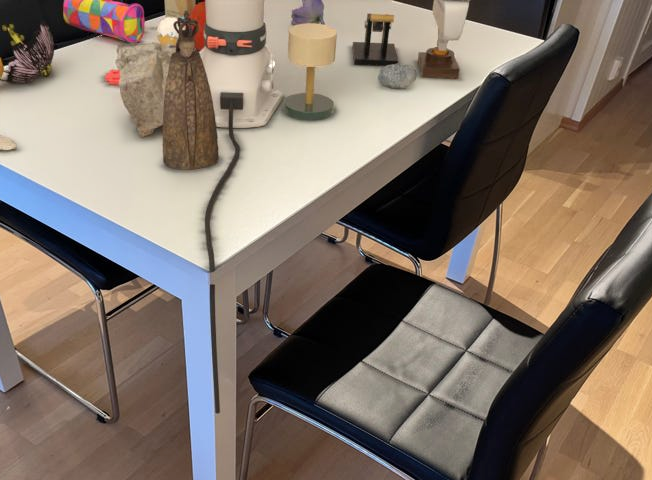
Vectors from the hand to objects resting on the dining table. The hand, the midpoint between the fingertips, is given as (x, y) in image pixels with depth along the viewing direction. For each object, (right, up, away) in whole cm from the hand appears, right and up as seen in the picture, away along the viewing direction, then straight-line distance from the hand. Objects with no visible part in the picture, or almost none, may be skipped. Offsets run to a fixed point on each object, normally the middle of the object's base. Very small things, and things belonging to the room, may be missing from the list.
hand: (441, 48), depth 153 cm
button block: (0, -3, +3) cm, 5 cm away
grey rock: (-11, -11, -6) cm, 17 cm away
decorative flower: (-87, -11, -17) cm, 89 cm away
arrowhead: (-92, -30, -32) cm, 102 cm away
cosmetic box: (-60, +8, +13) cm, 62 cm away
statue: (-51, -36, -34) cm, 71 cm away
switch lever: (-14, +5, 0) cm, 15 cm away
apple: (-52, +3, +8) cm, 53 cm away
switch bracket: (-14, +2, +8) cm, 16 cm away
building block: (-69, -12, -10) cm, 70 cm away
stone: (-64, -15, -22) cm, 69 cm away
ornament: (-62, +2, +6) cm, 62 cm away
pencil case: (-81, +12, +8) cm, 82 cm away
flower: (-28, +15, +22) cm, 39 cm away
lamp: (-30, -20, -16) cm, 39 cm away
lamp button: (0, -1, +1) cm, 2 cm away
